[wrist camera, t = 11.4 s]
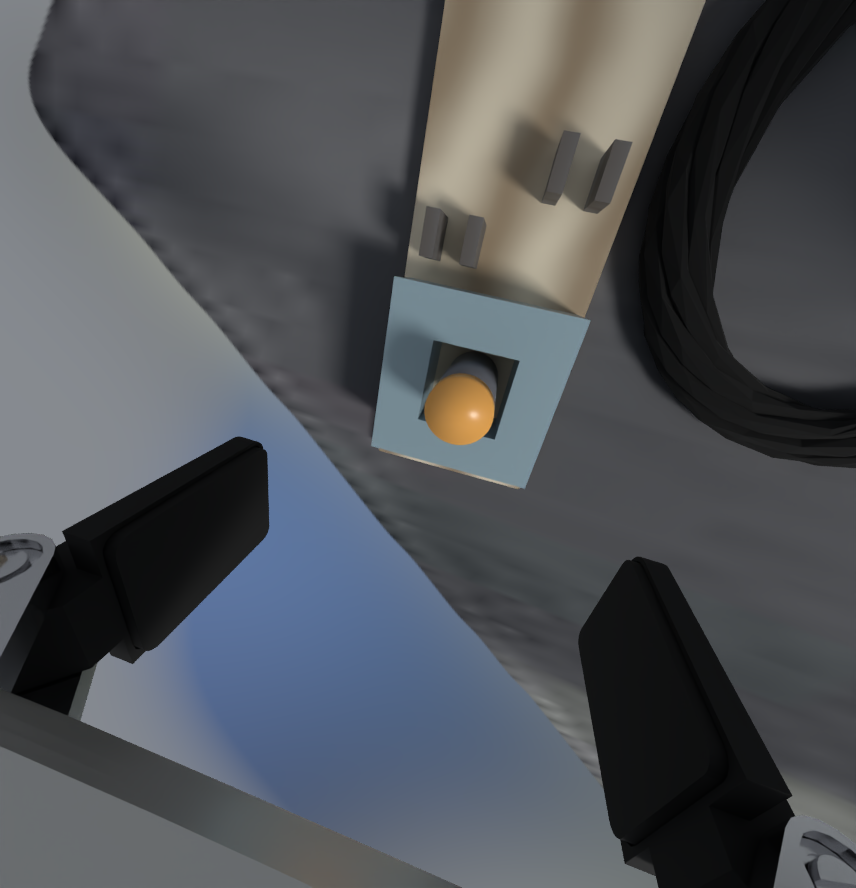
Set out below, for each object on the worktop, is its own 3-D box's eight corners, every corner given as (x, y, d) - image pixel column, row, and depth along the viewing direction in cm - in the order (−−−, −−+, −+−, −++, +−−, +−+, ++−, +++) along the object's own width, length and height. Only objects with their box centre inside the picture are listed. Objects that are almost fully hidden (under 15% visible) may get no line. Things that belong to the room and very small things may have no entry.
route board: (820, -319, 13) (943, -556, 9) (518, 481, 29) (519, 509, 25) (501, -332, 14) (500, -546, 10) (383, 444, 30) (366, 465, 26)
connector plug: (504, 358, 24) (502, 388, 17) (490, 406, 25) (483, 452, 18) (454, 346, 24) (431, 371, 17) (443, 394, 26) (418, 435, 19)
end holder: (576, 314, 22) (590, 320, 18) (522, 461, 27) (524, 488, 23) (411, 277, 23) (394, 276, 19) (388, 425, 28) (371, 445, 24)
